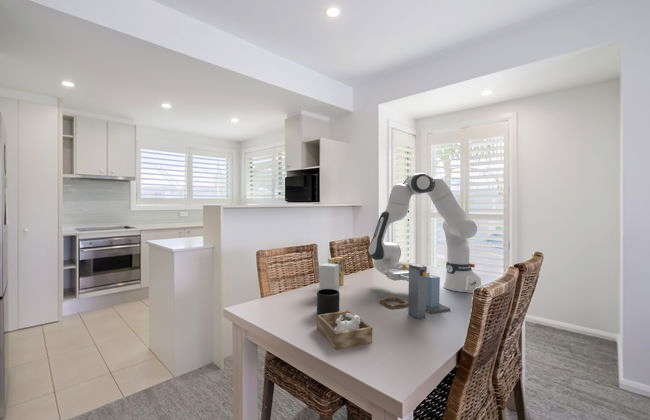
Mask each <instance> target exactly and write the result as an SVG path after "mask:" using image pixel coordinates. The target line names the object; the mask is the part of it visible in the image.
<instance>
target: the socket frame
mask: <svg viewBox="0 0 650 420" xmlns="http://www.w3.org/2000/svg"><path fill="white" fill-rule="evenodd" d="M393 301H394V302H395V301H396V302H399V303H397V304H390V303H388V302H393ZM379 303H381V304H382V305H384V306H386V307H388V308H389V309H391V310H392V309H398V308H404V307H405V308H406V307H408V302H407V301H405V300H403V299H401V298H399V297H396V296H395V297H394V296H393V297H386V298H381V299H379Z"/></svg>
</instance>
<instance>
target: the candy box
mask: <svg viewBox="0 0 650 420" xmlns="http://www.w3.org/2000/svg"><path fill="white" fill-rule="evenodd" d="M327 263H329V264H339V286H344V282H345V281H344V280H345V279H344V278H345V258H344V257H343V256H342V257H341V256H336V257H331V258H330V257H329V258H327Z"/></svg>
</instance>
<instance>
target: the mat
mask: <svg viewBox="0 0 650 420" xmlns="http://www.w3.org/2000/svg"><path fill="white" fill-rule="evenodd" d="M426 312H428V313H430V314H433V315H434V314H438V313H444V312H451V308H450V307H448V306H447V305H443V304H441V303H439V306H438V307H432V308H431V307H429V306H427V305H426Z"/></svg>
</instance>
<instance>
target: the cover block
mask: <svg viewBox="0 0 650 420" xmlns="http://www.w3.org/2000/svg"><path fill="white" fill-rule="evenodd" d="M440 279H441V277H440V276H437V275H435V274H430V277H427V279H426V305H427V306H429V307H431V308H432V307H438V306H439V304H440V292H441V288H440V287H441V285H440V283H441V280H440Z"/></svg>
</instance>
